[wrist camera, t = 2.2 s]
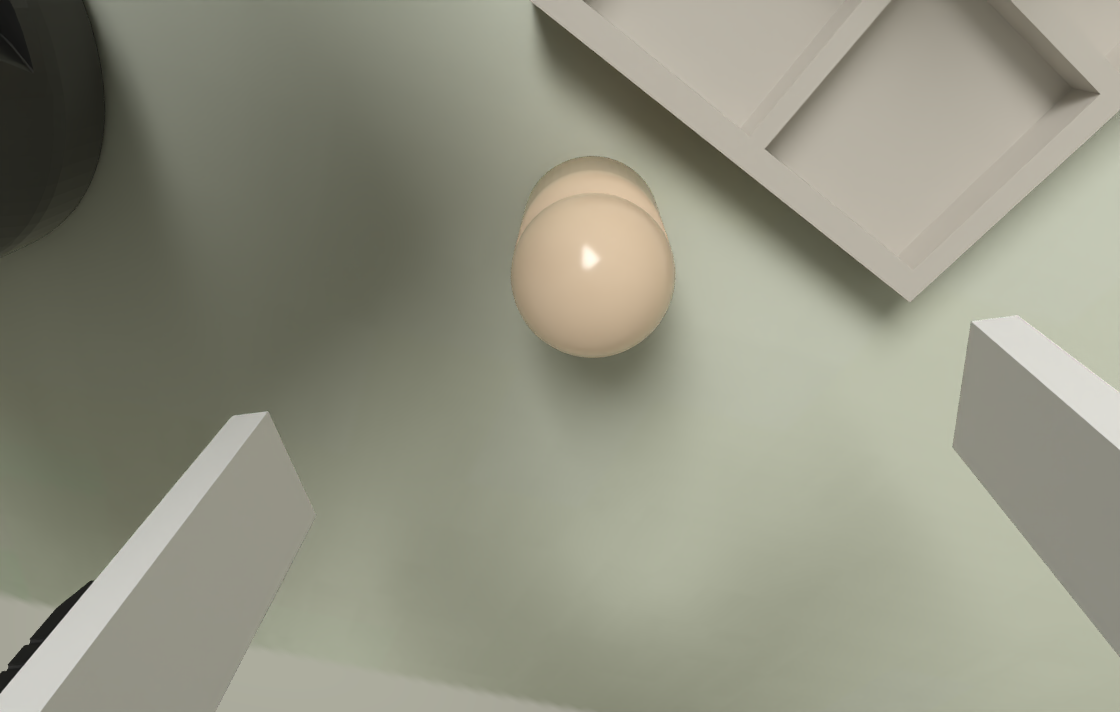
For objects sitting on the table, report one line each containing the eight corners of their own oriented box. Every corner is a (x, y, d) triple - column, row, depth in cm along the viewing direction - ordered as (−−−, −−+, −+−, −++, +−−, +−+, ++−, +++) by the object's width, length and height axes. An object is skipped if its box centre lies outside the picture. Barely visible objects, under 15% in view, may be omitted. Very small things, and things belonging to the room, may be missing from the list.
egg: (498, 239, 23) (468, 329, 17) (575, 126, 21) (573, 184, 15) (603, 309, 24) (610, 417, 18) (686, 209, 22) (725, 293, 16)
